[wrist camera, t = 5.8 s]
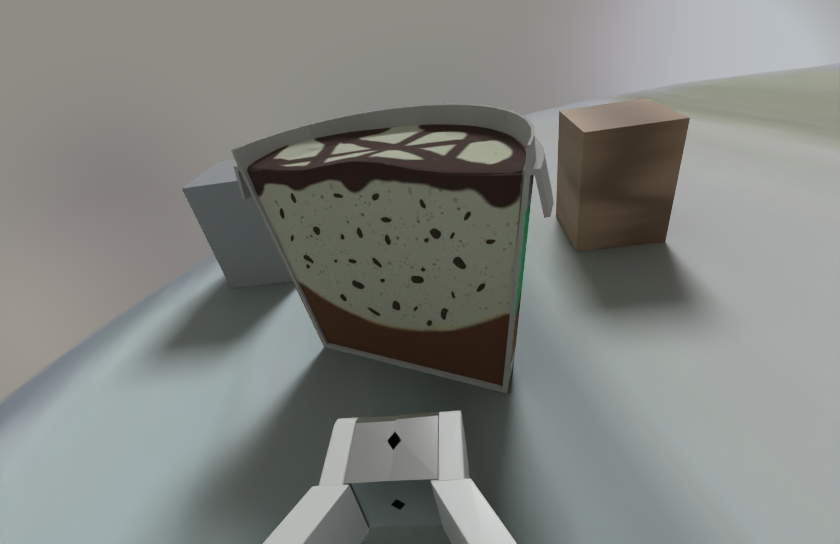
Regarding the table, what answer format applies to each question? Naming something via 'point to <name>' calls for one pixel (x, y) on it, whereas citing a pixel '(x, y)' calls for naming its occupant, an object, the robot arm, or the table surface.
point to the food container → (406, 231)
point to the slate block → (235, 229)
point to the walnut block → (618, 172)
